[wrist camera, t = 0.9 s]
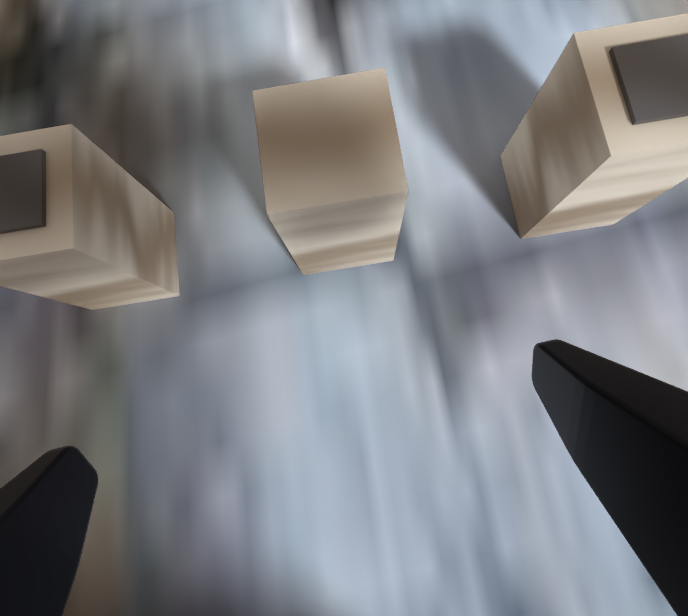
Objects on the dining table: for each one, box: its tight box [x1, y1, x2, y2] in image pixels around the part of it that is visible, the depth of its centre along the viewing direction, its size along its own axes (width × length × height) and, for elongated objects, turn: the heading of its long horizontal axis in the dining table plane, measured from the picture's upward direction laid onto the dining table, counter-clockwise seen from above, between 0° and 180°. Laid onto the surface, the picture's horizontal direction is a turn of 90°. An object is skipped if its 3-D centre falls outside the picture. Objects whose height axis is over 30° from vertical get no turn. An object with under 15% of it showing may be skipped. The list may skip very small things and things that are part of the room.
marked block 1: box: [500, 13, 688, 239], centre depth 18 cm, size 5×5×8 cm
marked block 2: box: [0, 124, 179, 310], centre depth 18 cm, size 5×5×8 cm
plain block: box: [252, 68, 409, 275], centre depth 18 cm, size 5×5×8 cm
